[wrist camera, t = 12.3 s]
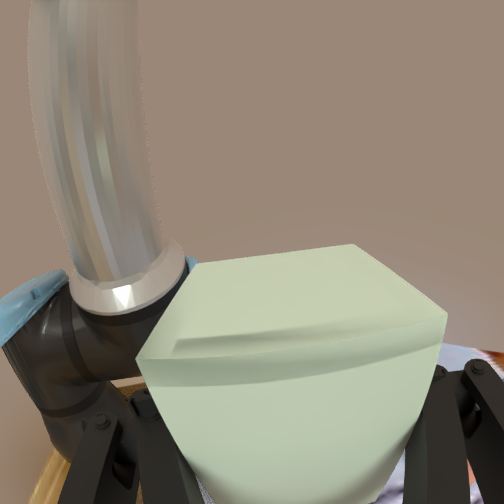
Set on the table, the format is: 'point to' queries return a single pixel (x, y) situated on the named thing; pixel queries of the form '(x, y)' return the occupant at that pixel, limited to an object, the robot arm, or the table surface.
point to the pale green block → (293, 374)
